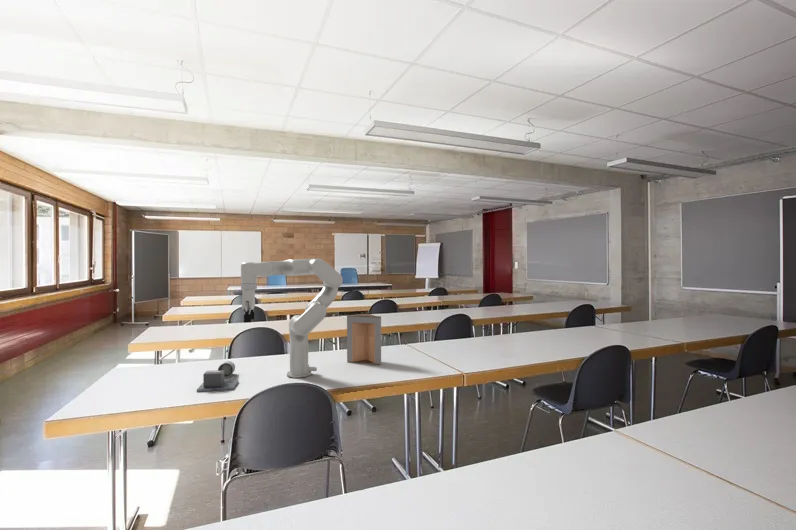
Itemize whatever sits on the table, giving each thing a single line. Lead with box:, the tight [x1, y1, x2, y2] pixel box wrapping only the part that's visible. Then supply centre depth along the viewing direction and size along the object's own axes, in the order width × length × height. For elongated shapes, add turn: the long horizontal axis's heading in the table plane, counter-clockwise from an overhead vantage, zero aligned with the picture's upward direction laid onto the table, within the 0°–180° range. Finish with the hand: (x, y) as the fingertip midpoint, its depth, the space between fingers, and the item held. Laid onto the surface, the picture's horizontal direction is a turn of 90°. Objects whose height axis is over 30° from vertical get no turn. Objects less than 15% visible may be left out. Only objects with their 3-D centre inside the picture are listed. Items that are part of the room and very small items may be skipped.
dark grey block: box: [202, 369, 225, 387], centre depth 196 cm, size 8×6×6 cm
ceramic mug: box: [217, 360, 236, 379], centre depth 215 cm, size 11×8×8 cm
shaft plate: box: [196, 379, 239, 393], centre depth 197 cm, size 16×12×5 cm
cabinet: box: [346, 313, 382, 366], centre depth 244 cm, size 21×10×28 cm, turn 73°
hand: (249, 320), depth 206 cm, fingers open, 9 cm apart
